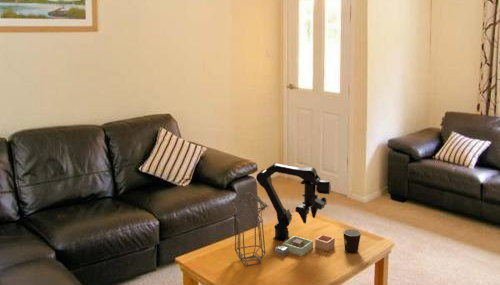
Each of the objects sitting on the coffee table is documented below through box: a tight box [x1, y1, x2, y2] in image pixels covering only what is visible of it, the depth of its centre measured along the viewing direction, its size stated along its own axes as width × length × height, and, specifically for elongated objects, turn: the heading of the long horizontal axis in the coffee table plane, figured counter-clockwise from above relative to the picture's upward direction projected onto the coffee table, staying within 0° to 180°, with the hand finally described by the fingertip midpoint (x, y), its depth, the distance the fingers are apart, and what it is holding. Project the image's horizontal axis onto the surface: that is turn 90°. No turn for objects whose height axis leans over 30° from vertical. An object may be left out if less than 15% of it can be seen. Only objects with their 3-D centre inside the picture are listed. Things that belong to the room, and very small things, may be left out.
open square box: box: [314, 234, 336, 253], centre depth 259 cm, size 7×7×5 cm
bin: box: [282, 235, 314, 257], centre depth 257 cm, size 11×11×4 cm
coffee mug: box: [343, 228, 362, 255], centre depth 256 cm, size 12×9×10 cm
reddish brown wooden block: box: [274, 244, 289, 257], centre depth 253 cm, size 5×4×4 cm
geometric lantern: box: [229, 191, 269, 267], centre depth 242 cm, size 16×16×35 cm
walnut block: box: [292, 239, 303, 248], centre depth 257 cm, size 4×4×4 cm
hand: (309, 220), depth 263 cm, fingers open, 9 cm apart
